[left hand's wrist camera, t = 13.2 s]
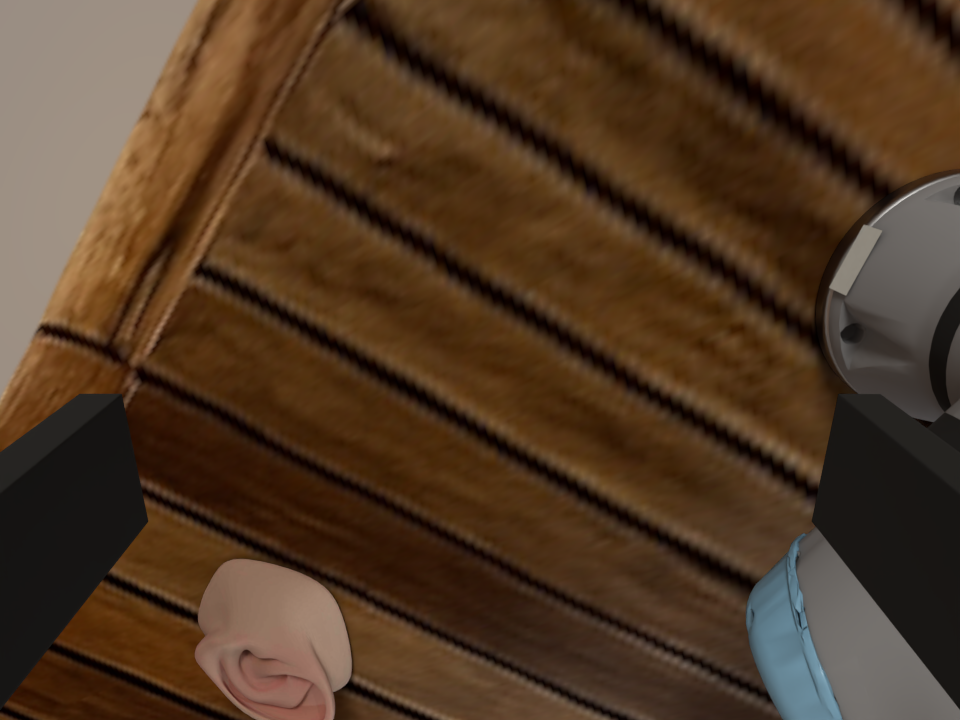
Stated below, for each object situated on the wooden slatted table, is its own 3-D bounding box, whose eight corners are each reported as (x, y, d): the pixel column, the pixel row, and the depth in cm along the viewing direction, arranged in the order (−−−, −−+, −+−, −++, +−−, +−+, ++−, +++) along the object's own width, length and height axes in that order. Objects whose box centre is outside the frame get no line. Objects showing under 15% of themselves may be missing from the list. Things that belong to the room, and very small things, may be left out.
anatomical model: (167, 592, 45) (339, 599, 46) (191, 555, 49) (349, 562, 49) (188, 737, 50) (343, 743, 50) (208, 693, 54) (353, 698, 54)
